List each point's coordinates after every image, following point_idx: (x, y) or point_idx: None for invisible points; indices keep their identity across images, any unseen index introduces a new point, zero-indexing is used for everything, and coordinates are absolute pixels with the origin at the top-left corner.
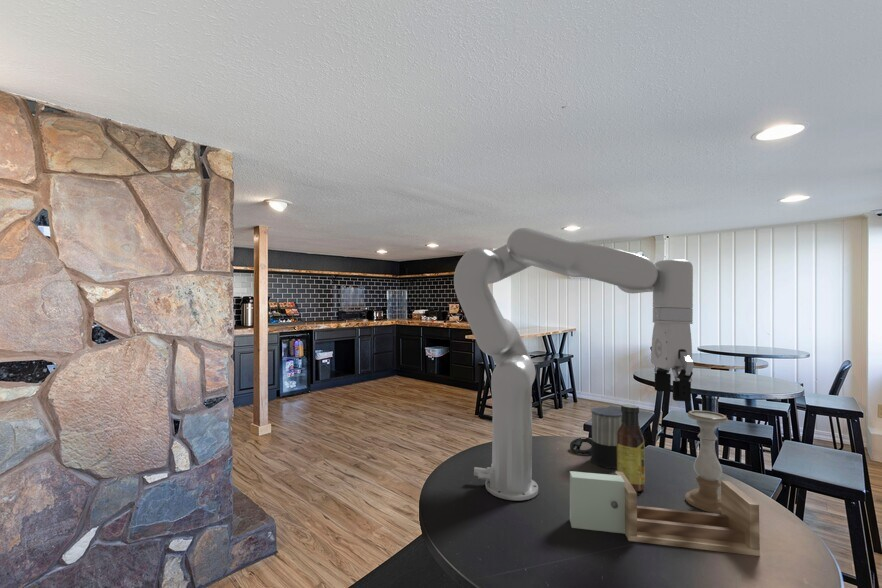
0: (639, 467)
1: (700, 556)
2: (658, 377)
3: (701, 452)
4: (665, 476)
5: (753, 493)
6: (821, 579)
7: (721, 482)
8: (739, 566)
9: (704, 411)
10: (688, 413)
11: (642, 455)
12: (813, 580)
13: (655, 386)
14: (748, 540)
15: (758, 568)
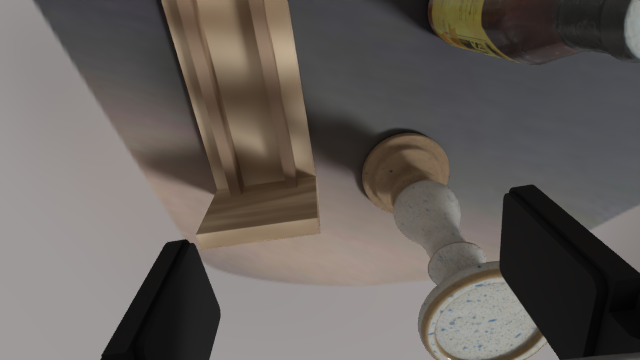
0: (453, 31)
1: (169, 101)
2: (571, 273)
3: (435, 221)
4: (550, 115)
5: None
6: None
7: (314, 216)
8: (170, 157)
9: None
10: None
11: (477, 46)
12: None
13: (529, 200)
14: (220, 195)
15: (180, 183)
